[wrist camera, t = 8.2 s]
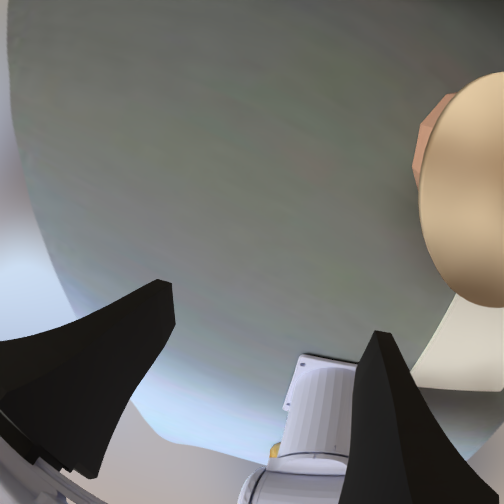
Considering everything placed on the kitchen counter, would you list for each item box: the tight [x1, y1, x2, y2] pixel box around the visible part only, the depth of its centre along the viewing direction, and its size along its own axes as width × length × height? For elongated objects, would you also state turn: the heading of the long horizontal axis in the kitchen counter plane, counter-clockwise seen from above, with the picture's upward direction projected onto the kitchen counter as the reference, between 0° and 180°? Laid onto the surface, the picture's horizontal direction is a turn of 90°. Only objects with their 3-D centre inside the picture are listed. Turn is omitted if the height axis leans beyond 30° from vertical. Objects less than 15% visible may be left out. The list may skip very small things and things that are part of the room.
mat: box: [410, 293, 504, 391], centre depth 18 cm, size 13×13×1 cm
